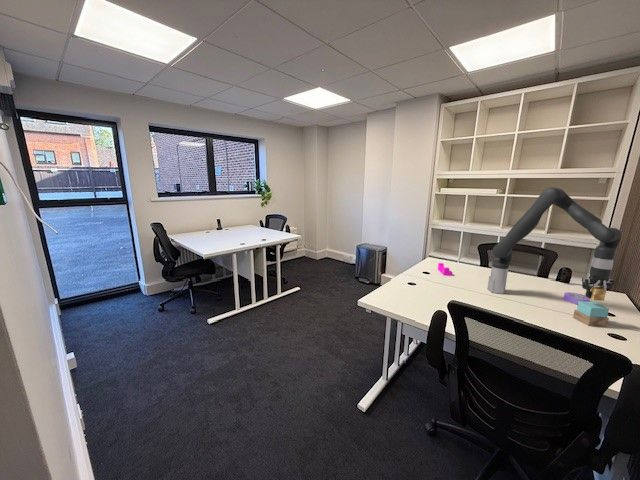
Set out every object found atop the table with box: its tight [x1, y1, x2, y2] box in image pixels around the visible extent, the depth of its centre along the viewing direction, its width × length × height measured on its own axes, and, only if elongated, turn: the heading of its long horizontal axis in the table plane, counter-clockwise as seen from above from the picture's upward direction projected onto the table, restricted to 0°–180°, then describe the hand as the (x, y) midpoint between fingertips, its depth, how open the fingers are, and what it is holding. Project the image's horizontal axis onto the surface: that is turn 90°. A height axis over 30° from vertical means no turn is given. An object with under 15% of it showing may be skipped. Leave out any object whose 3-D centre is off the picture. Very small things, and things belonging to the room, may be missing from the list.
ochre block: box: [584, 286, 607, 302], centre depth 137 cm, size 5×5×6 cm
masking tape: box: [563, 291, 591, 306], centre depth 165 cm, size 12×12×4 cm
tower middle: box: [576, 301, 610, 318], centre depth 139 cm, size 8×8×5 cm
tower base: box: [572, 309, 610, 328], centre depth 139 cm, size 9×9×5 cm
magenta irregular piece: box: [437, 262, 453, 277], centre depth 216 cm, size 15×6×8 cm, turn 174°
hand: (594, 297), depth 137 cm, fingers closed on ochre block, 5 cm apart
